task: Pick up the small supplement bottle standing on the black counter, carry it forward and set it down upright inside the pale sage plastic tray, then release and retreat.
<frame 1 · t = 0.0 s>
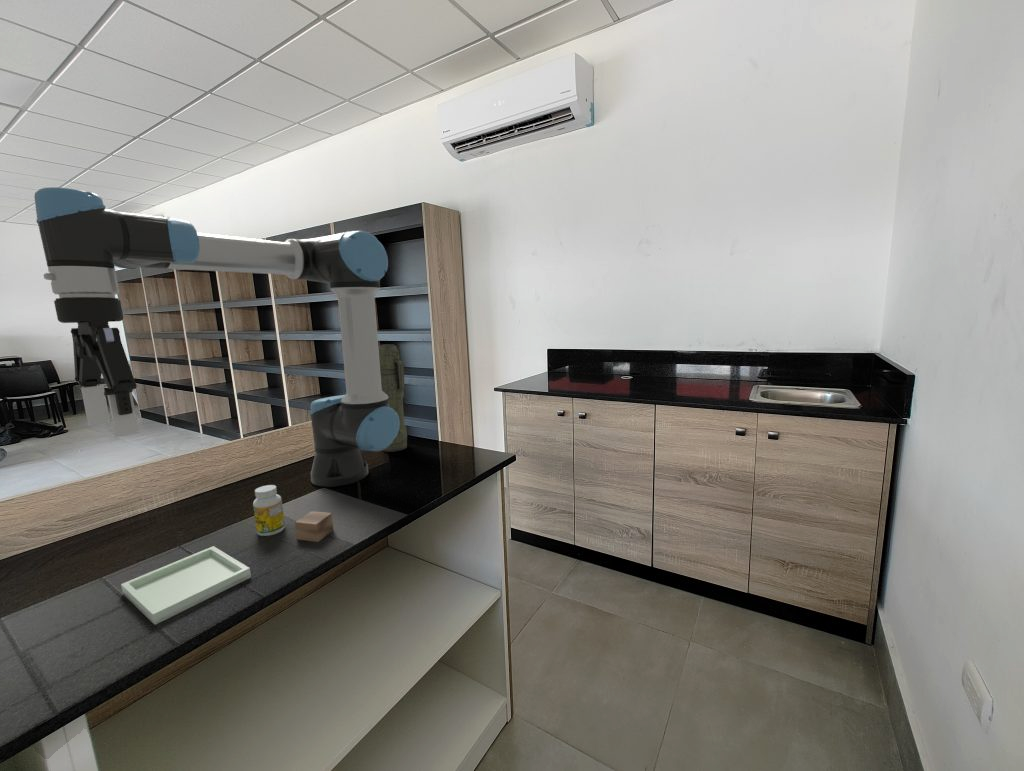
hand: (112, 429, 72), 28 cm above the worktop, fingers open, 13 cm apart
supplement bottle: (271, 531, 95), on the worktop
tray: (188, 585, 76), on the worktop
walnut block: (315, 535, 92), on the worktop
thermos: (394, 448, 149), on the worktop
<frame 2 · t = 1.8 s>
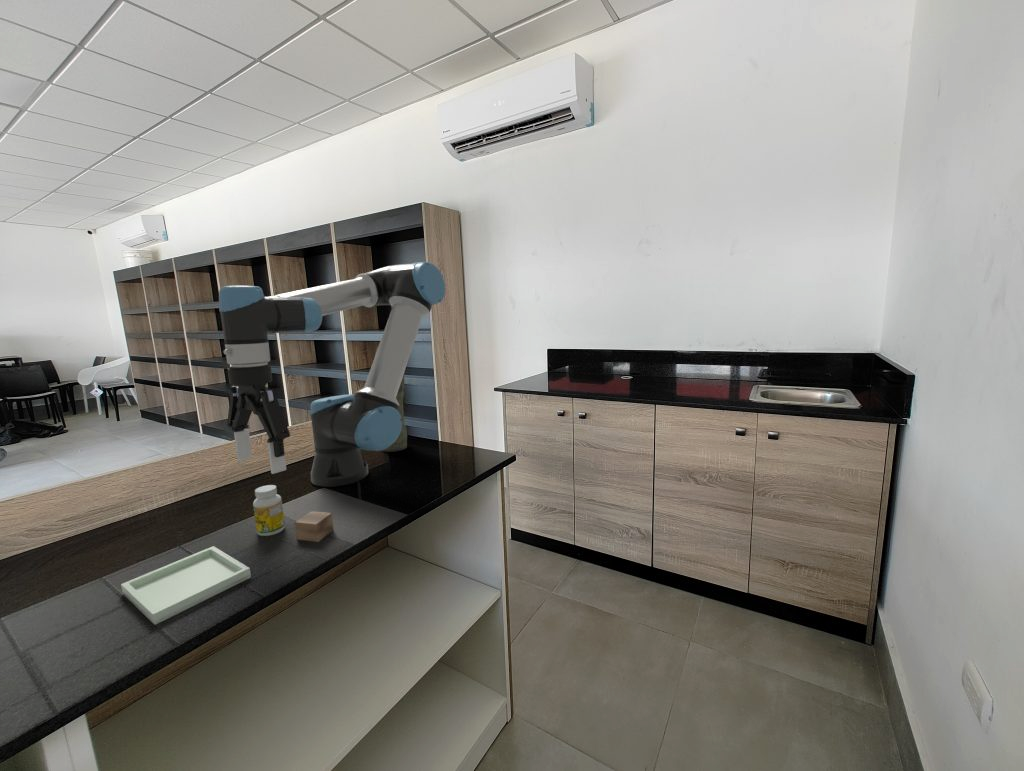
hand: (261, 465, 92), 15 cm above the worktop, fingers open, 13 cm apart
nothing on the worktop moved.
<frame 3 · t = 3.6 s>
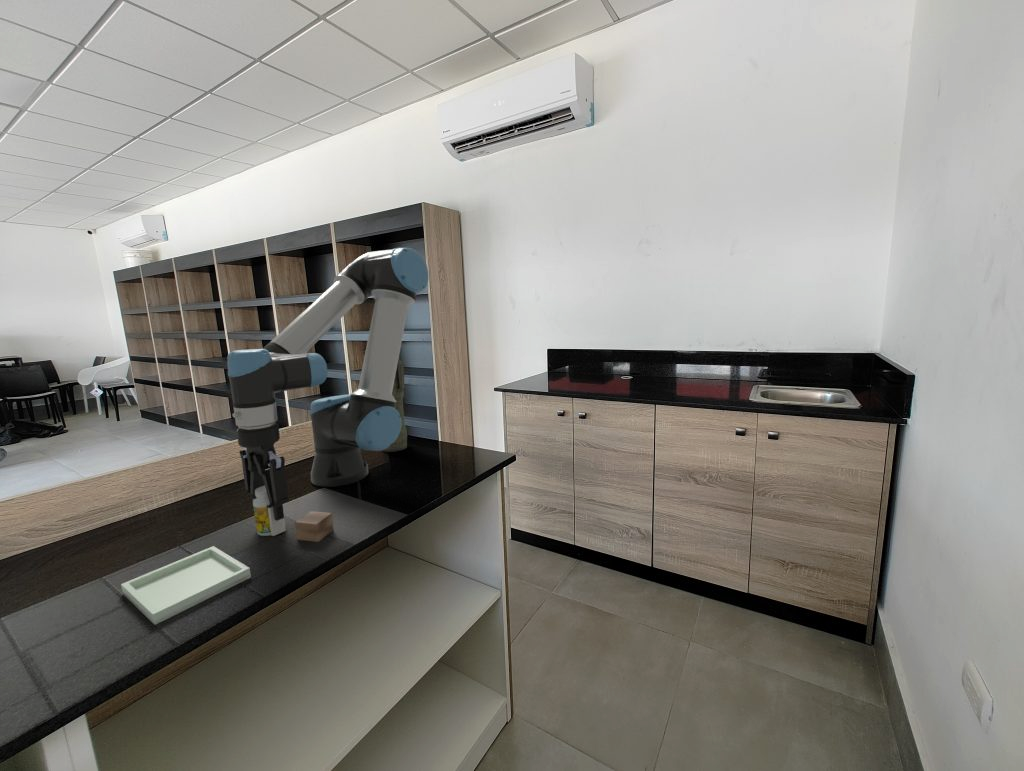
hand: (271, 528, 94), 0 cm above the worktop, fingers closed on supplement bottle, 5 cm apart
supplement bottle: (271, 531, 95), on the worktop, touching gripper
everything else where it was.
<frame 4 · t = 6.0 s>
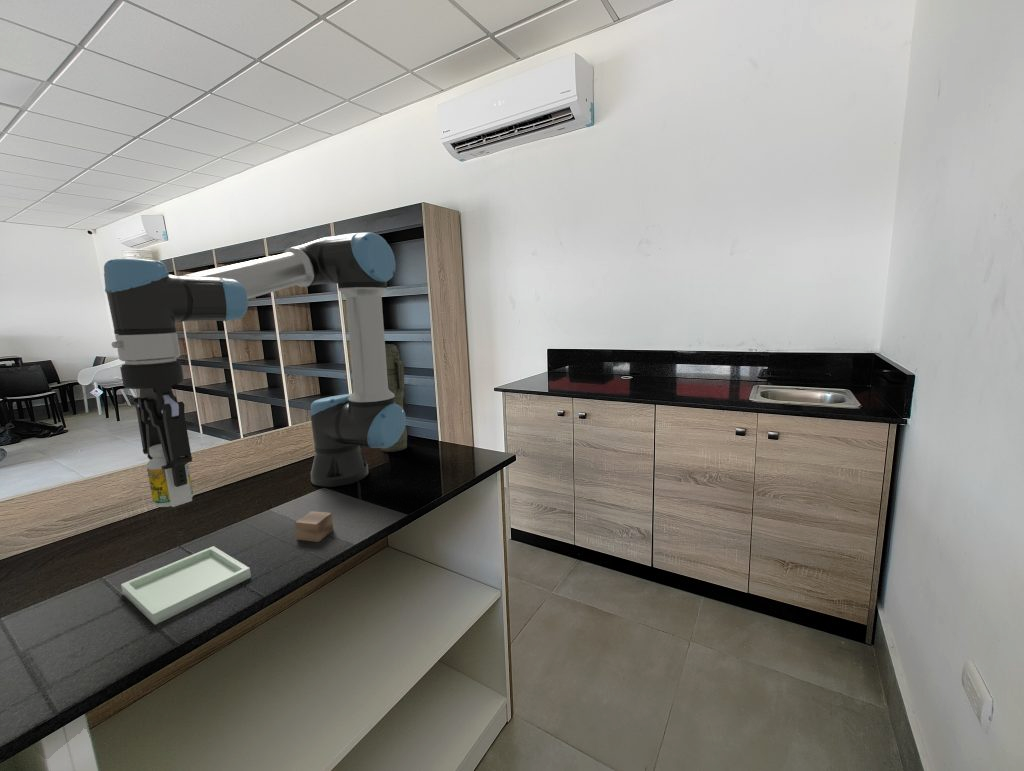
hand: (174, 499, 73), 16 cm above the worktop, fingers closed on supplement bottle, 5 cm apart
supplement bottle: (174, 501, 73), point 15 cm above the worktop, touching gripper
everything else where it was.
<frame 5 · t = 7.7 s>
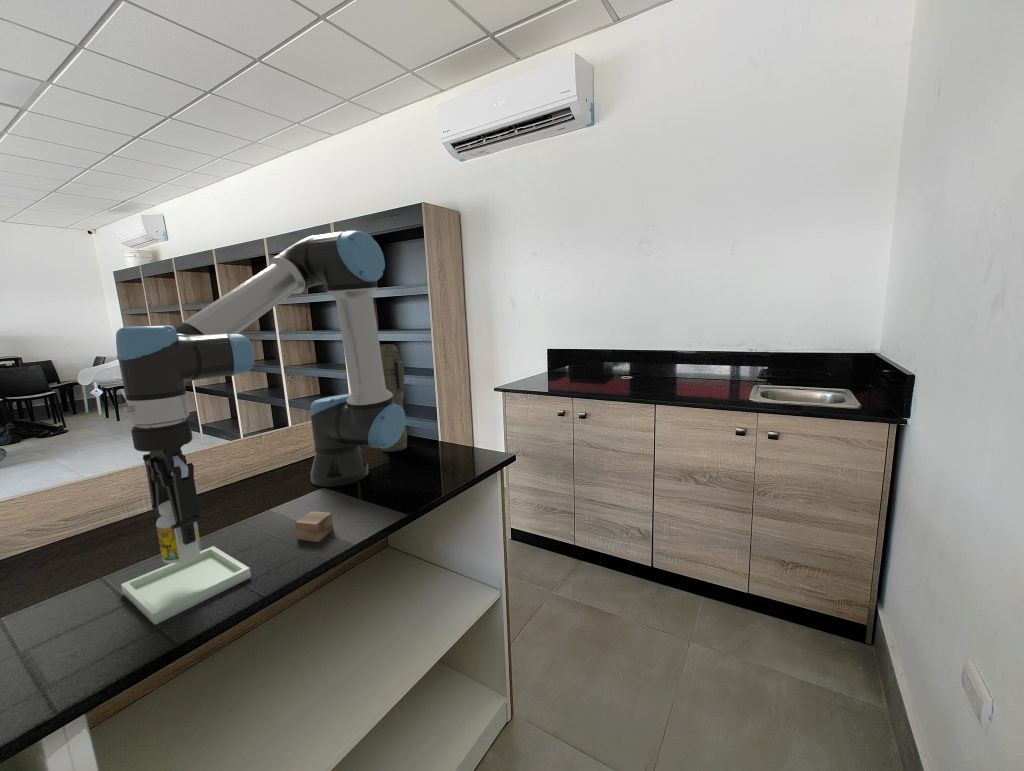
hand: (182, 554, 75), 6 cm above the worktop, fingers closed on supplement bottle, 5 cm apart
supplement bottle: (182, 556, 75), point 5 cm above the worktop, touching gripper
everything else where it was.
when the fingers open (2 cm above the worktop, at t = 8.7 s): supplement bottle drops 1 cm, resting on tray.
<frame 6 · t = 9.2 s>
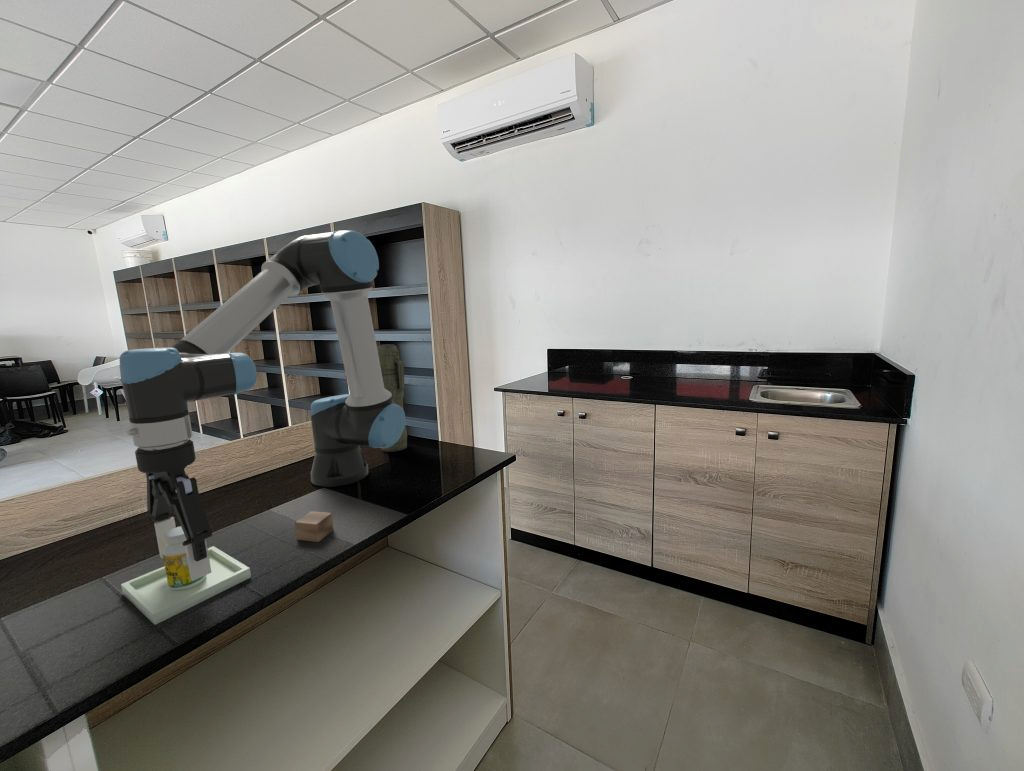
hand: (185, 564, 75), 4 cm above the worktop, fingers open, 12 cm apart
supplement bottle: (188, 583, 76), resting on tray
everything else where it was.
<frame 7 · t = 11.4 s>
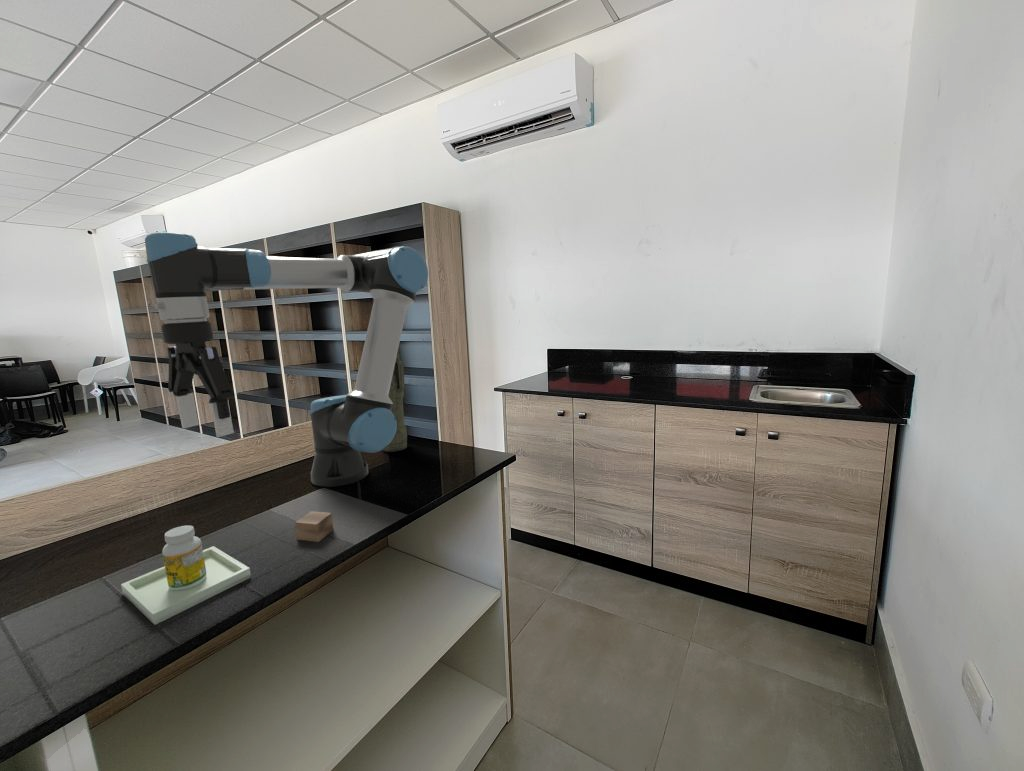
hand: (207, 430, 86), 24 cm above the worktop, fingers open, 13 cm apart
nothing on the worktop moved.
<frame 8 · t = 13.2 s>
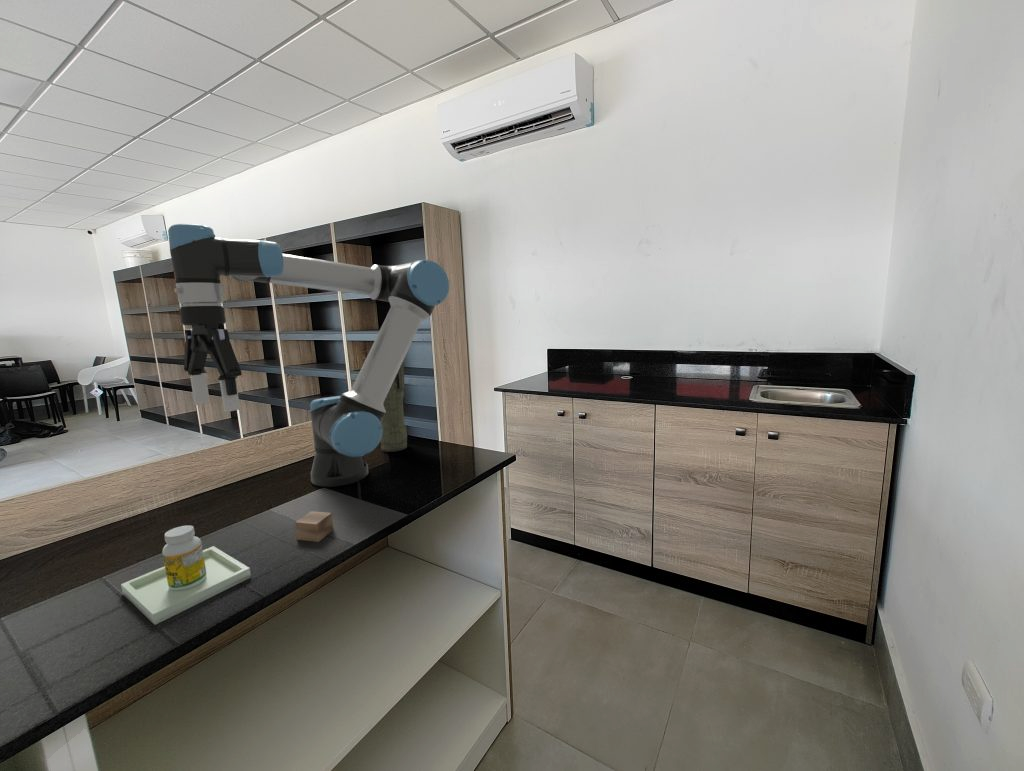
hand: (216, 407, 93), 27 cm above the worktop, fingers open, 13 cm apart
nothing on the worktop moved.
at the end: supplement bottle inside the target area on the tray (0.0 cm from its centre), point 0.4 cm above the tray's base; supplement bottle tilted 0°; the gripper is holding nothing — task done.
